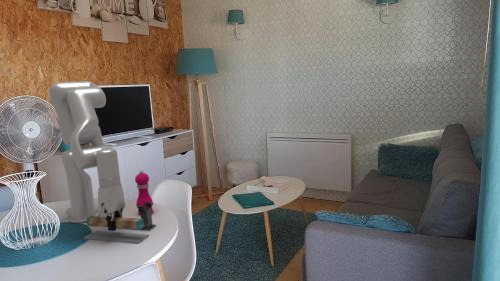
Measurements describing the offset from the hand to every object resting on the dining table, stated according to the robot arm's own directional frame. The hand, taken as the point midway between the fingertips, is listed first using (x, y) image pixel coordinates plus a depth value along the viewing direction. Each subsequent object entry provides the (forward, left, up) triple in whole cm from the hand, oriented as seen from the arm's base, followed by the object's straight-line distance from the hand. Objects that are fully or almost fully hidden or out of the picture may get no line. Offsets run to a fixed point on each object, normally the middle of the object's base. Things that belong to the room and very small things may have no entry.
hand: (115, 228), depth 146 cm
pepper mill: (-4, +27, -4) cm, 27 cm away
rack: (0, +11, -4) cm, 11 cm away
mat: (0, 0, -4) cm, 4 cm away
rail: (0, 0, +1) cm, 1 cm away
